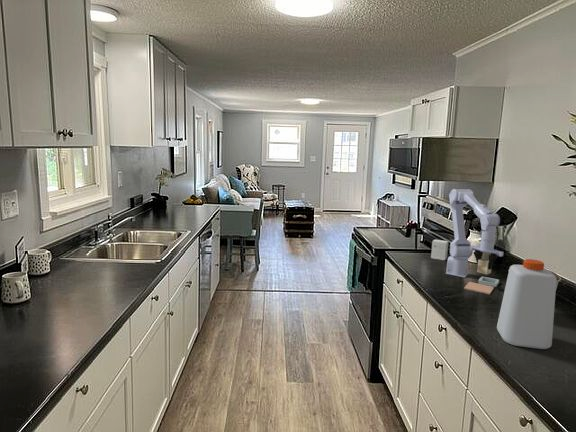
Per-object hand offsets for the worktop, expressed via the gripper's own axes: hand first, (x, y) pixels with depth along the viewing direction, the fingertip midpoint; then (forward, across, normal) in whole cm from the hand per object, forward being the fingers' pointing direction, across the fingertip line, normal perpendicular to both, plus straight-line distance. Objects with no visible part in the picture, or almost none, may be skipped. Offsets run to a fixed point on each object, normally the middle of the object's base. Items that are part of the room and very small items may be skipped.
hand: (484, 267), depth 196 cm
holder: (+9, +1, -9) cm, 13 cm away
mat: (+9, 0, +3) cm, 10 cm away
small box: (+10, +38, -30) cm, 50 cm away
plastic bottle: (+10, -33, +43) cm, 55 cm away
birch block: (+2, 0, 0) cm, 2 cm away
